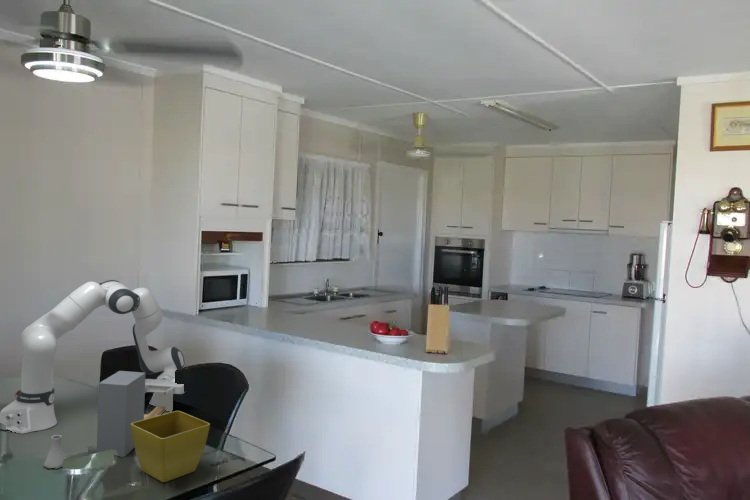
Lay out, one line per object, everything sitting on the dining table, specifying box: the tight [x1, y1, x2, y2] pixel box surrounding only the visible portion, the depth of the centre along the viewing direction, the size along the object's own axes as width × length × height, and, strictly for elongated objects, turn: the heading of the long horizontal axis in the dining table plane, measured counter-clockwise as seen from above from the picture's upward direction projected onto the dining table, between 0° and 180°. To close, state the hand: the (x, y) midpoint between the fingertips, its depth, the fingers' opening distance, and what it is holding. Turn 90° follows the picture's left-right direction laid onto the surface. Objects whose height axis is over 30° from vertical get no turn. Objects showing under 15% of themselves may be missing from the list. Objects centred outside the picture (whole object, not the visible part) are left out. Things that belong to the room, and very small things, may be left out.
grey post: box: [96, 370, 147, 458], centre depth 220 cm, size 10×16×26 cm, turn 178°
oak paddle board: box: [144, 405, 166, 419], centre depth 248 cm, size 12×22×2 cm, turn 178°
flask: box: [42, 434, 67, 468], centre depth 203 cm, size 7×7×10 cm
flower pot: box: [131, 410, 211, 483], centre depth 204 cm, size 19×19×17 cm
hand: (154, 392), depth 250 cm, fingers open, 8 cm apart
